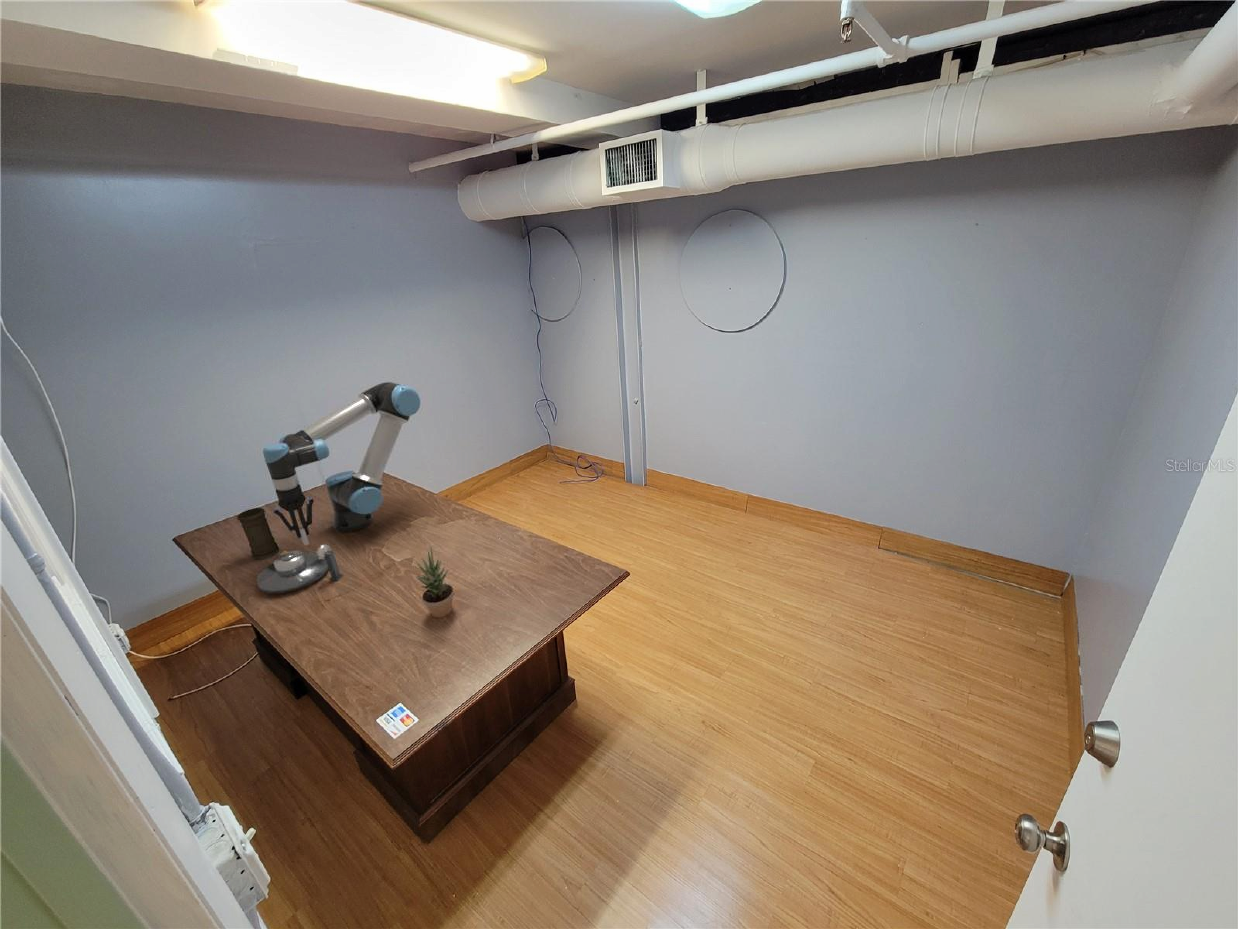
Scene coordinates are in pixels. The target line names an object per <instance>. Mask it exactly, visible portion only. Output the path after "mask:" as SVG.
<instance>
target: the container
mask: <svg viewBox="0 0 1238 929" xmlns="http://www.w3.org/2000/svg"><path fill="white" fill-rule="evenodd" d="M237 520H239V523H241V527H242V529H243V531H244V534H245V536H246V538H247V541H248V544H249V547H250V550H251V551H250V552H251V556H252V558H253V559H254V560H265V559H269V558H271V557H273V556H275V555H276V554H277V553H278V552H279V551H280V546H279V545H278V543H277V542H276V541H275V537H274V536H273V533H272V531H271V528H270V525H269V523H268V521H267V520H268V519H267V518H266V511H265V509H264V508H261V507H255V508H250V509H247V510H244V511H242V512H240V513H239V514H238V515H237Z"/></svg>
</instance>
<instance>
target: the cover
mask: <svg viewBox="0 0 1238 929" xmlns="http://www.w3.org/2000/svg"><path fill="white" fill-rule="evenodd" d="M303 553H304V552H302V551H300V550H294V551H293V550H292V551H288V552H287V553H285V554H282V555H281V554H280V555H279V556H277V557H276V558H275V559H274V560H273V563H274V566H275V569H276V571H277V574H278V576H279V577H283V578H286V577H292V576H295V575H297V574H299V573H301V572H303V571H304V570H305V569H306V568H307V563H306V561H305V558H304V555H303ZM273 563H272V564H273Z"/></svg>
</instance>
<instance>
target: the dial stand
mask: <svg viewBox="0 0 1238 929" xmlns="http://www.w3.org/2000/svg"><path fill="white" fill-rule="evenodd" d="M316 552H317V557H318V558H319V559H326V562H327V565H328V568H329V569H328V571H329V574H330V578H329V581H333V582H334V581H335V582H338V581H340V580H341V579H342V577H344V574H343V573H340V569H339V566H338V562H337V560H336V557H335V553H334V551H333V550H332V548H331V546H330V545H329V544H320V545H319V546H318V547H317V550H316Z"/></svg>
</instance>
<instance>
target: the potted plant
mask: <svg viewBox="0 0 1238 929" xmlns="http://www.w3.org/2000/svg"><path fill="white" fill-rule="evenodd" d="M429 547H430V552H429V551H427V556H428V557H427V558H428V562H426V560H425V559H424V558H423V557H421V560H422V562H423V565H424V567H423V566H421V565H420V564H419V562H416V564H417V567H418V568H419V569H420V571H421V572H422V573H423V575H422V576H420V575H418V574H417V575H415V579H418V581H419V582H420V583H422V584H423V585H420V587H421V588H423V589H425V590H424V591H423V592H422V593H421V601H422V603H423V605H425V606H426V608H428V611H429V612H430V614H431V615H432V617H434V618H443V617H446V616H448V615H449V614H450V613H451V612H452V609H453V598H454V596H455V590H454V587H453V586H452V585H451V584H448V583H447V582H445V581H444V580H445V578H446V576H447V574H448V572H449V569H448V570H446V572H445V573H444V571H445V568H446V567H445V566H443V568H442V570H441V571H440V569H441V565H442V560H439V559H437V561H436V564H435V560H434V553H433V549H432V546H431V544H429ZM424 585H425V586H424Z"/></svg>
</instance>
